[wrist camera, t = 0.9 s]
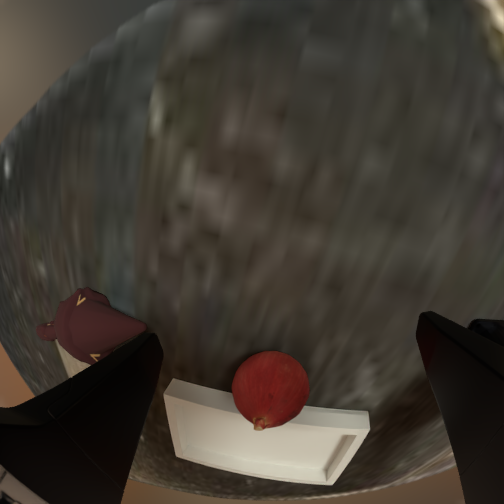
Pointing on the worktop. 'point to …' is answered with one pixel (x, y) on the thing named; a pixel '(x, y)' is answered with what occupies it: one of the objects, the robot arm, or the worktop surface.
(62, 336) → the dark red toy figure
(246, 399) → the onion
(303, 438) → the tray
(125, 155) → the worktop surface
